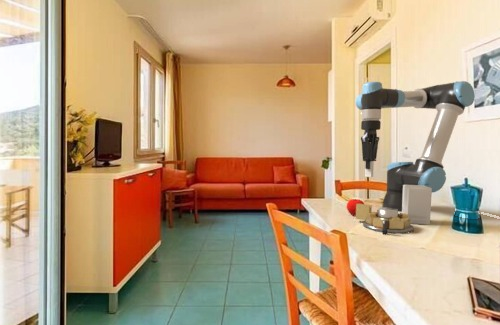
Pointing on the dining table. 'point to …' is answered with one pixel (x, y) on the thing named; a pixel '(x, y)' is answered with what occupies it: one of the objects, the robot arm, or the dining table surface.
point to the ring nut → (372, 218)
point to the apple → (353, 206)
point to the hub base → (387, 214)
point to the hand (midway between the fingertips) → (368, 176)
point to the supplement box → (417, 203)
